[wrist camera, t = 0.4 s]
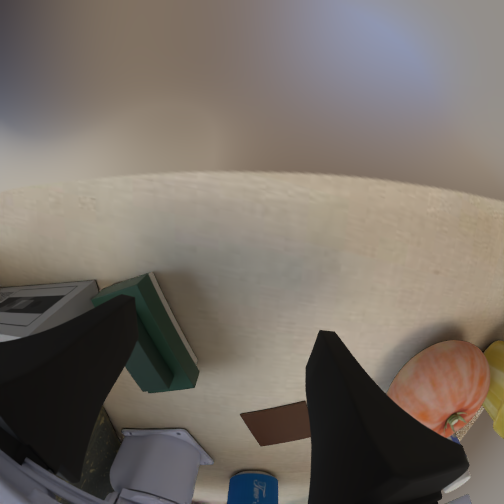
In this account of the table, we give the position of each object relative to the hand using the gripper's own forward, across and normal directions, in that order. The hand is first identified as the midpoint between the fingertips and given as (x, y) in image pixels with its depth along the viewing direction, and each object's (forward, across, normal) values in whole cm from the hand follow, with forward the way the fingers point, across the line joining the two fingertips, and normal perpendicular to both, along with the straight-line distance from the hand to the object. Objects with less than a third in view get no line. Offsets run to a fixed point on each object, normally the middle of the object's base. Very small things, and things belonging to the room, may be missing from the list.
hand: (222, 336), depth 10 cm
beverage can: (+7, -6, +32) cm, 33 cm away
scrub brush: (+8, +6, +8) cm, 13 cm away
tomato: (+9, -19, +9) cm, 23 cm away
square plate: (+8, -6, +18) cm, 20 cm away
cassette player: (+8, +19, +8) cm, 22 cm away
